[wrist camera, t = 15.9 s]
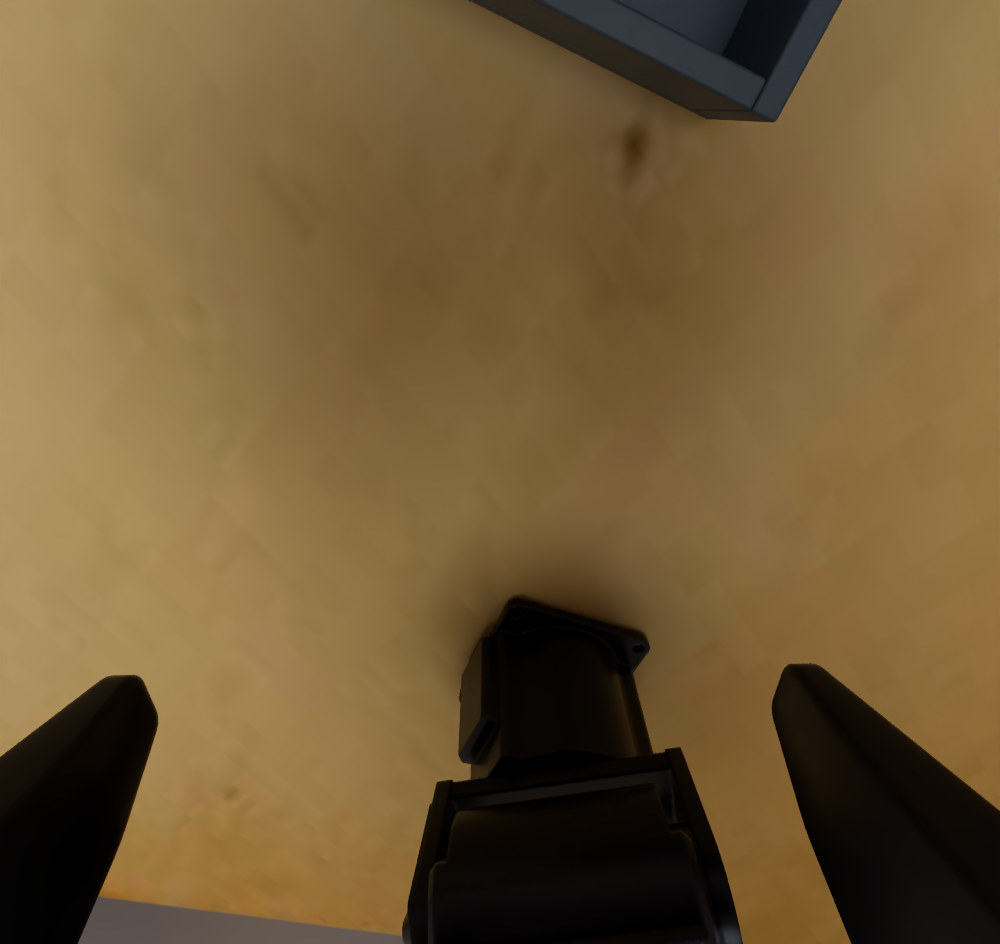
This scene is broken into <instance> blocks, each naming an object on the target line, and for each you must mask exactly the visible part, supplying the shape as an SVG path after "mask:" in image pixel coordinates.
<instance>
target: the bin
mask: <svg viewBox="0 0 1000 944" xmlns="http://www.w3.org/2000/svg"><path fill="white" fill-rule="evenodd" d="M470 1H472V2H474V3H476V4H478V5H480V6H482V7H484V8H486V9H488V10H490V11H492V12H494V13H496V14H498V15H500V16H502V17H504V18H506V19H508V20H510V21H512V22H514V23H516V24H518V25H520V26H522V27H524V28H526V29H528V30H530V31H532V32H534V33H536V34H538V35H540V36H542V37H544V38H546V39H548V40H550V41H552V42H554V43H556V44H558V45H560V46H562V47H564V48H566V49H568V50H570V51H572V52H574V53H576V54H578V55H580V56H582V57H584V58H586V59H588V60H590V61H592V62H594V63H596V64H598V65H600V66H602V67H604V68H606V69H608V70H610V71H612V72H614V73H616V74H618V75H620V76H622V77H624V78H626V79H628V80H630V81H632V82H634V83H636V84H638V85H640V86H642V87H644V88H646V89H648V90H650V91H652V92H654V93H656V94H658V95H660V96H662V97H664V98H666V99H668V100H670V101H672V102H674V103H676V104H678V105H680V106H682V107H684V108H686V109H688V110H690V111H692V112H694V113H696V114H698V115H700V116H702V117H704V118H706V119H718V120H737V121H757V122H775V121H776V120H777V119H778V117H779V115H780V113H781V111H782V109H783V108H784V106H785V104H786V102H787V100H788V98H789V97H790V95H791V93H792V91H793V89H794V87H795V86H796V84H797V82H798V80H799V78H800V76H801V75H802V73H803V71H804V69H805V67H806V65H807V64H808V62H809V60H810V58H811V56H812V54H813V53H814V51H815V49H816V47H817V45H818V43H819V42H820V40H821V38H822V36H823V34H824V32H825V31H826V29H827V27H828V25H829V23H830V21H831V20H832V18H833V16H834V14H835V12H836V10H837V9H838V7H839V5H840V3H841V1H842V0H470Z"/></svg>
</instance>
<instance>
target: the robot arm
mask: <svg viewBox="0 0 1000 944" xmlns="http://www.w3.org/2000/svg"><path fill="white" fill-rule="evenodd" d="M515 610H521V612H514V611H515ZM638 644H639V645H638ZM635 645H638V646H635ZM649 649H650V645H649V642H648V639H647V637H646V636H645V635H643V634H641V633H637V632H634V631H631V630H627V629H624V628H620V627H617V626H613V625H610V624H607V623H603V622H600V621H596V620H593V619H589V618H586V617H583V616H579V615H576V614H572V613H569V612H565V611H562V610H559V609H555V608H552V607H548V606H545V605H541V604H538V603H535V602H531V601H528V600H524V599H519V598H517V599H512V600H510V601H509V602H508V603H507V604H506V606H505V608H504V610H503V611H502V613H501V615H500V617H499V619H498V621H497V623H496V624H495V626H494V628H493V630H492V632H491V634H490V636H485V637H484V638H482V639H481V640H480V642H479V644H478V646H477V648H476V650H475V652H474V654H473V655H472V657H471V659H470V661H469V663H468V665H467V667H466V669H465V671H464V672H463V674H462V683H461V689H460V697H459V700H460V703H461V705H460V727H459V750H458V755H459V757H460V759H461V761H462V762H463V763H467V764H471V780H465V781H458V782H453V780H446V781H439V782H437V784H436V788H435V793H434V797H433V802H432V803H431V804H430V806H429V811H428V815H427V819H426V824H425V828H424V833H423V837H422V842H421V846H420V851H419V855H418V859H417V864H416V868H415V873H414V877H413V882H412V886H411V890H410V895H409V899H408V912H407V914H406V916H405V919H404V921H403V927H402V936H403V942H404V944H743V942H742V937H741V932H740V927H739V923H738V918H737V914H736V910H735V906H734V902H733V898H732V894H731V890H730V886H729V883H728V879H727V876H726V872H725V869H724V865H723V862H722V859H721V856H720V853H719V850H718V847H717V844H716V841H715V838H714V835H713V833H712V830H711V827H710V825H709V822H708V819H707V817H706V814H705V811H704V809H703V806H702V803H701V801H700V798H699V795H698V793H697V790H696V787H695V785H694V782H693V779H692V777H691V774H690V771H689V769H688V766H687V763H686V761H685V758H684V755H683V753H682V750H681V747H677V748H670V749H665V752H662V753H655V754H653V751H652V747H651V743H650V739H649V735H648V731H647V727H646V723H645V719H644V715H643V712H642V708H641V704H640V700H639V696H638V692H637V688H636V684H635V680H634V677H633V672H634V671H635V669H636V668H637V667H638V665H639V664H640V663H641V661H642V660H643V659H644V657H645V656H646V654H647V653H648V652H649ZM772 716H773V720H774V724H775V727H776V731H777V734H778V737H779V741H780V744H781V748H782V751H783V755H784V758H785V761H786V765H787V768H788V772H789V775H790V779H791V782H792V786H793V789H794V792H795V796H796V799H797V803H798V806H799V810H800V813H801V816H802V819H803V822H804V825H805V829H806V831H807V834H808V836H809V839H810V842H811V844H812V847H813V850H814V852H815V855H816V857H817V860H818V862H819V865H820V867H821V869H822V872H823V874H824V877H825V879H826V882H827V884H828V887H829V889H830V892H831V894H832V897H833V899H834V902H835V904H836V907H837V909H838V912H839V914H840V917H841V919H842V922H843V924H844V927H845V929H846V932H847V934H848V936H849V939H850V941H851V944H1000V811H999V810H998V809H997V808H996V807H994V806H993V805H992V804H991V803H989V802H988V801H987V800H986V799H984V798H983V797H982V796H981V795H979V794H978V793H977V792H976V791H975V790H973V789H972V788H971V787H970V786H968V785H967V784H966V783H965V782H963V781H962V780H961V779H960V778H958V777H957V776H956V775H955V774H953V773H952V772H951V771H950V770H948V769H947V768H946V767H945V766H944V765H942V764H941V763H940V762H939V761H937V760H936V759H935V758H934V757H932V756H931V755H930V754H929V753H927V752H926V751H925V750H924V749H922V748H921V747H920V746H919V745H918V744H916V743H915V742H914V741H913V740H911V739H910V738H909V737H908V736H906V735H905V734H904V733H903V732H901V731H900V730H899V729H898V728H896V727H895V726H894V725H893V724H892V723H890V722H889V721H888V720H887V719H885V718H884V717H883V716H882V715H880V714H879V713H878V712H877V711H875V710H874V709H873V708H872V707H870V706H869V705H868V704H867V703H866V702H864V701H863V700H862V699H861V698H859V697H858V696H857V695H856V694H854V693H853V692H852V691H851V690H849V689H848V688H847V687H846V686H844V685H843V684H842V683H841V682H840V681H838V680H837V679H836V678H835V677H833V676H832V675H831V674H830V673H828V672H827V671H826V670H825V669H823V668H822V667H820V666H818V665H816V664H811V663H809V664H788V665H787V666H786V667H785V668H784V670H783V672H782V675H781V678H780V680H779V683H778V686H777V689H776V692H775V695H774V698H773V701H772ZM157 726H158V714H157V711H156V708H155V706H154V704H153V702H152V699H151V697H150V695H149V693H148V690H147V688H146V686H145V684H144V681H143V680H142V679H141V678H140V677H139V676H136V675H113V676H108V677H106V678H104V679H102V680H100V681H99V682H98V683H96V684H95V685H94V686H92V687H91V688H90V689H88V690H87V691H86V692H85V693H83V694H82V695H81V696H79V697H78V698H77V699H75V700H74V701H73V702H71V703H70V704H69V705H68V706H66V707H65V708H64V709H62V710H61V711H60V712H58V713H57V714H56V715H54V716H53V717H52V718H51V719H49V720H48V721H47V722H45V723H44V724H43V725H41V726H40V727H39V728H37V729H36V730H35V731H34V732H32V733H31V734H30V735H28V736H27V737H26V738H24V739H23V740H22V741H20V742H19V743H18V744H17V745H15V746H14V747H13V748H11V749H10V750H9V751H7V752H6V753H5V754H3V755H2V756H1V757H0V944H78V942H79V939H80V937H81V934H82V932H83V930H84V928H85V925H86V923H87V920H88V918H89V916H90V914H91V911H92V909H93V906H94V904H95V902H96V900H97V897H98V895H99V893H100V890H101V888H102V886H103V883H104V881H105V879H106V876H107V874H108V872H109V869H110V867H111V865H112V862H113V860H114V857H115V855H116V852H117V850H118V848H119V845H120V842H121V840H122V837H123V834H124V831H125V828H126V825H127V822H128V819H129V816H130V813H131V810H132V807H133V803H134V800H135V797H136V794H137V791H138V788H139V785H140V781H141V778H142V775H143V772H144V769H145V766H146V763H147V759H148V756H149V753H150V750H151V747H152V744H153V741H154V737H155V734H156V731H157Z"/></svg>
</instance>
